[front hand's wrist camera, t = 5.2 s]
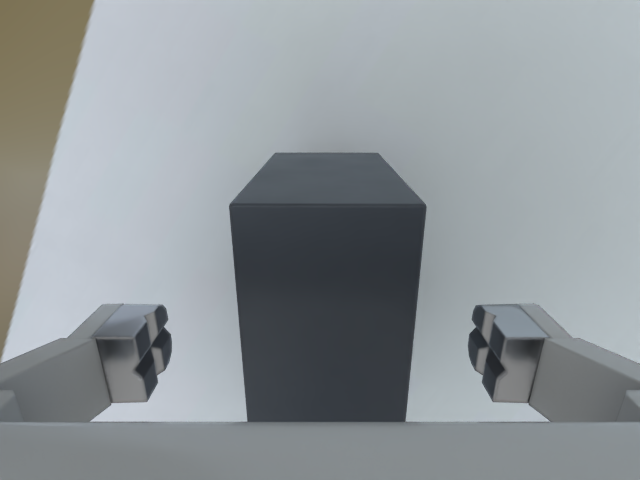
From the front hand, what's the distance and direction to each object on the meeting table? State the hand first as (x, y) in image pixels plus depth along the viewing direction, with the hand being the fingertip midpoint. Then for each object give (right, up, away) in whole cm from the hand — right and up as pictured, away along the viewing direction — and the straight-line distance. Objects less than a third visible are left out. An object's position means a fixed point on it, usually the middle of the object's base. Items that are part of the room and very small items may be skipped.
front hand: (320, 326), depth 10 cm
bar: (0, -4, +12) cm, 13 cm away
